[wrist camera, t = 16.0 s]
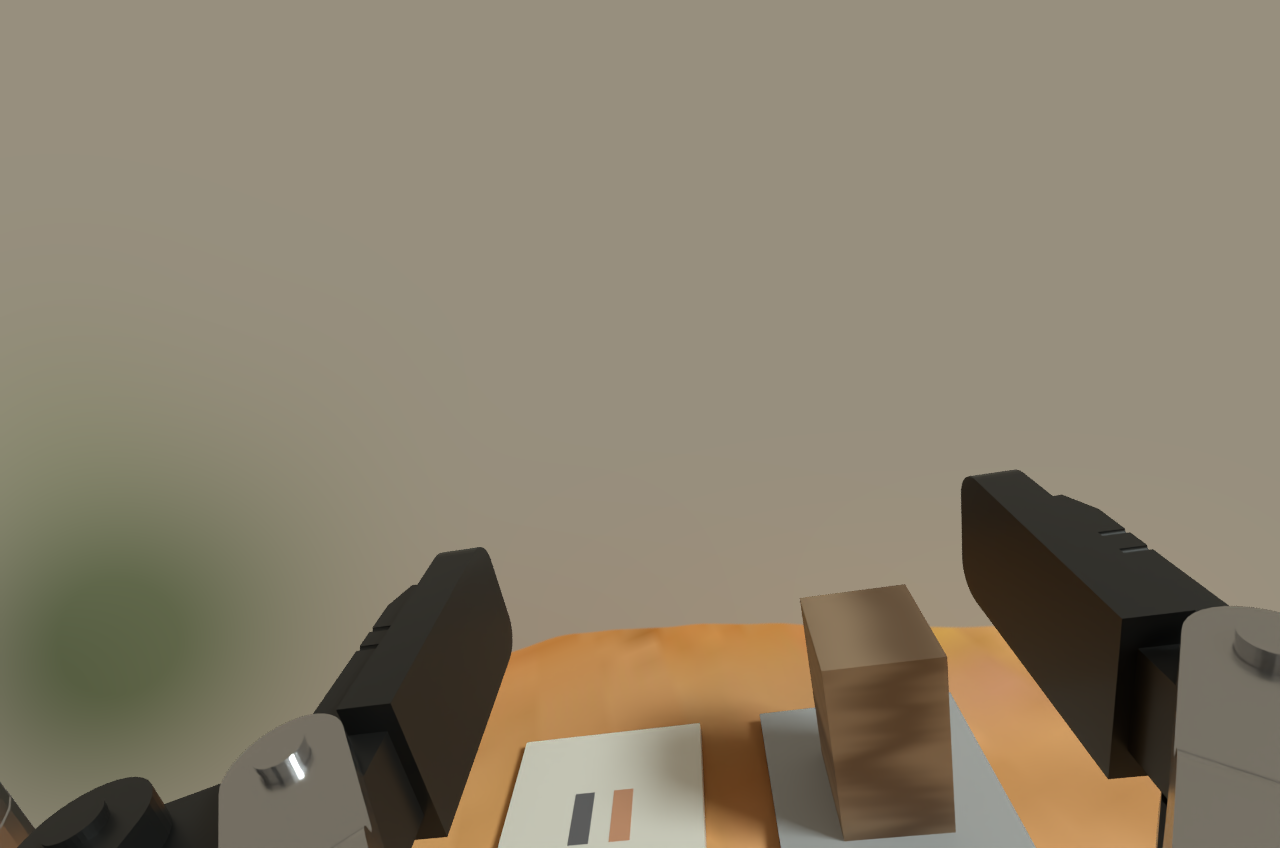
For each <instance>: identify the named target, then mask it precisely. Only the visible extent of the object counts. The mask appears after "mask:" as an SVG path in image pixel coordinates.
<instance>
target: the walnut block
mask: <svg viewBox="0 0 1280 848" xmlns="http://www.w3.org/2000/svg"><path fill="white" fill-rule="evenodd" d="M800 603H801V610H802V617H803V624H804V631H805V638H806V646H807V653H808V660H809V667H810V674H811V681H812V688H813V695H814V702H815V709H816V716H817V724H818V731H819V738H820V745H821V752H822V756H823V760H824V764H825V768H826V771H827V775H828V779H829V783H830V787H831V791H832V795H833V799H834V803H835V807H836V811H837V815H838V819H839V823H840V827H841V830H842V834H843V838H844V841H856V840H868V839H881V838H893V837H905V836H918V835H930V834H942V833H955V832H956V825H955V805H954V786H953V766H952V746H951V726H950V706H949V686H948V666H947V656H946V654H945V652H944V651H943V649H942V647H941V645H940V644H939V642H938V640H937V639H936V637H935V635H934V633H933V632H932V630H931V628H930V627H929V625H928V623H927V621H926V620H925V618H924V617H923V615H922V613H921V611H920V609H919V608H918V606H917V604H916V603H915V601H914V599H913V597H912V596H911V594H910V592H909V591H908V589H907V587H906V585H905V584H904V585H896V586H889V587H881V588H873V589H866V590H858V591H851V592H844V593H835V594H828V595H820V596H812V597H805V598H800Z"/></svg>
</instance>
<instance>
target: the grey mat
mask: <svg viewBox="0 0 1280 848" xmlns="http://www.w3.org/2000/svg"><path fill="white" fill-rule="evenodd" d="M949 706H950V726H951V746H952V766H953V786H954V805H955V825H956V832H955V833H942V834H930V835H918V836H905V837H893V838H881V839H868V840H856V841H844V838H843V834H842V830H841V827H840V823H839V819H838V815H837V811H836V807H835V803H834V799H833V795H832V791H831V787H830V783H829V779H828V775H827V771H826V768H825V764H824V760H823V756H822V752H821V745H820V738H819V731H818V724H817V716H816V709H815V708H808V709H799V710H790V711H782V712H773V713H764V714H760V720H761V726H762V732H763V738H764V745H765V751H766V757H767V763H768V770H769V776H770V782H771V789H772V795H773V801H774V807H775V814H776V820H777V826H778V832H779V839H780V845H781V848H1036V847H1035V845H1034V843H1033V842H1032V840H1031V838H1030V836H1029V834H1028V833H1027V831H1026V829H1025V827H1024V825H1023V824H1022V822H1021V820H1020V818H1019V816H1018V815H1017V813H1016V811H1015V809H1014V807H1013V805H1012V804H1011V802H1010V800H1009V798H1008V796H1007V795H1006V793H1005V791H1004V789H1003V787H1002V786H1001V784H1000V782H999V780H998V778H997V777H996V775H995V773H994V771H993V769H992V768H991V766H990V764H989V762H988V760H987V758H986V757H985V755H984V753H983V751H982V749H981V748H980V746H979V744H978V742H977V740H976V739H975V737H974V735H973V733H972V731H971V730H970V728H969V726H968V724H967V722H966V721H965V719H964V717H963V715H962V713H961V712H960V710H959V708H958V706H957V704H956V702H955V701H954V699H953V697H952V695H951V693H949Z"/></svg>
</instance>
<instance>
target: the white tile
mask: <svg viewBox="0 0 1280 848" xmlns="http://www.w3.org/2000/svg"><path fill="white" fill-rule="evenodd" d="M498 848H706V827H705V804H704V781H703V759H702V736H701V727H700V723H696V724H688V725H679V726H670V727H661V728H652V729H643V730H634V731H625V732H616V733H608V734H599V735H590V736H581V737H572V738H563V739H554V740H545V741H536V742H528V743H527V744H526V748H525V751H524V755H523V759H522V762H521V766H520V769H519V773H518V777H517V780H516V784H515V787H514V791H513V795H512V798H511V802H510V805H509V809H508V813H507V816H506V820H505V823H504V827H503V831H502V834H501V838H500V841H499V845H498Z"/></svg>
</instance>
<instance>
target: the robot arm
mask: <svg viewBox="0 0 1280 848" xmlns="http://www.w3.org/2000/svg"><path fill="white" fill-rule="evenodd" d="M961 510H962V511H961V513H962V560H963V569H964V574H965V578H966V581H967V584H968V587H969V589H970V591H971V594H972V595H973V597H974V599H975V600H976V602H977V603H978V605H979V606H980V607H981V609H982V610H983V611H984V613H985V614H986V615H987V617H988V618H989V619H990V621H991V622H992V624H993V625H994V626H995V628H996V629H997V630H998V632H999V633H1000V634H1001V636H1002V637H1003V638H1004V640H1005V641H1006V642H1007V644H1008V645H1009V646H1010V648H1011V649H1012V650H1013V652H1014V653H1015V654H1016V656H1017V657H1018V659H1019V660H1020V661H1021V663H1022V664H1023V665H1024V667H1025V668H1026V669H1027V671H1028V672H1029V673H1030V675H1031V676H1032V677H1033V679H1034V680H1035V681H1036V683H1037V684H1038V685H1039V687H1040V688H1041V689H1042V691H1043V692H1044V693H1045V695H1046V696H1047V698H1048V699H1049V700H1050V702H1051V703H1052V704H1053V706H1054V707H1055V708H1056V710H1057V711H1058V712H1059V714H1060V715H1061V716H1062V718H1063V719H1064V720H1065V722H1066V723H1067V724H1068V726H1069V727H1070V728H1071V730H1072V731H1073V732H1074V734H1075V735H1076V737H1077V738H1078V739H1079V741H1080V742H1081V743H1082V745H1083V746H1084V747H1085V749H1086V750H1087V751H1088V753H1089V754H1090V755H1091V757H1092V758H1093V759H1094V761H1095V762H1096V763H1097V765H1098V766H1099V767H1100V769H1101V770H1102V772H1103V773H1104V774H1105V776H1106V777H1107V778H1108V779H1115V778H1126V777H1137V776H1149V777H1150V778H1151V780H1152V781H1153V782H1154V783H1155V785H1156V786H1157V787H1158V788H1159V789H1160V791H1161V796H1160V803H1159V811H1158V824H1157V837H1156V848H1280V613H1279V612H1275V611H1271V610H1266V609H1260V608H1254V607H1243V606H1229V605H1227V604H1226V603H1225V602H1223V601H1222V600H1220V599H1219V598H1218V597H1216V596H1215V595H1214V594H1212V593H1211V592H1209V591H1208V590H1207V589H1206V588H1204V587H1203V586H1202V585H1200V584H1199V583H1198V582H1196V581H1195V580H1193V579H1192V578H1191V577H1189V576H1188V575H1187V574H1185V573H1184V572H1183V571H1181V570H1180V569H1178V568H1177V567H1176V566H1175V565H1173V564H1172V563H1170V562H1169V561H1168V560H1166V559H1165V558H1164V557H1162V556H1161V555H1160V554H1158V553H1157V552H1156V551H1154V550H1153V549H1152V550H1149V549H1148V548H1147V545H1146V544H1145V543H1143V542H1142V541H1141V540H1140V539H1138V538H1137V537H1135V536H1134V535H1133V534H1131V533H1126V532H1125V528H1123V527H1122V526H1120V525H1119V524H1118V523H1116V522H1115V521H1114V520H1113V519H1111V518H1110V517H1109V516H1107V515H1106V514H1105V513H1103V512H1102V511H1100V510H1099V509H1097V508H1095V507H1092V506H1089V505H1087V504H1084V503H1082V502H1079V501H1077V500H1074V499H1071V498H1069V497H1066V496H1064V495H1058V496H1052V495H1051V494H1049V493H1048V492H1047V491H1046V490H1044V489H1043V488H1042V487H1041V486H1039V485H1038V484H1037V483H1035V482H1034V481H1033V480H1032V479H1030V478H1029V477H1028V476H1027V475H1025V474H1024V473H1023V472H1021V471H1019V470H1010V471H1003V472H996V473H989V474H982V475H975V476H969V477H966V478H965V479H964V480H963V483H962V488H961ZM511 651H512V629H511V622H510V618H509V615H508V612H507V609H506V606H505V602H504V599H503V597H502V593H501V590H500V587H499V584H498V581H497V578H496V575H495V571H494V569H493V565H492V563H491V559H490V557H489V554H488V553H487V551H486V550H485V549H484V548H482V547H477V548H471V549H464V550H458V551H450V552H444V553H440V554H438V555H437V556H436V557H435V559H434V560H433V562H432V563H431V565H430V566H429V568H428V569H427V571H426V573H425V574H424V575H423V577H422V579H421V580H420V582H419V583H418V585H412V586H411V587H410V588H408V589H407V590H406V591H405V592H404V593H402V594H401V595H400V596H399V597H398V598H396V599H395V600H394V601H393V602H392V603H390V604H389V605H388V606H387V608H386V609H385V611H384V612H383V613H382V615H381V616H380V618H379V619H378V621H377V622H376V624H375V625H374V626H373V632H369V634H368V635H367V637H366V638H365V639H364V641H363V642H362V644H361V645H360V651H356V652H355V654H354V655H353V657H352V658H351V660H350V661H349V663H348V664H347V665H346V667H345V668H344V670H343V671H342V673H341V674H340V676H339V677H338V679H337V680H336V681H335V683H334V684H333V686H332V687H331V689H330V690H329V692H328V693H327V694H326V696H325V697H324V699H323V700H322V702H321V703H320V705H319V706H318V708H317V709H316V710H315V712H314V713H313V714H311V715H306V716H302V717H299V718H296V719H294V720H291V721H288V722H286V723H284V724H282V725H280V726H278V727H276V728H275V729H273V730H271V731H269V732H268V733H266V734H265V735H263V736H262V737H261V738H259V739H258V740H257V741H255V742H254V743H253V744H252V745H250V746H249V747H248V748H247V749H246V750H245V751H244V752H243V753H242V754H241V755H240V756H239V757H238V758H237V759H236V760H235V761H234V763H233V764H232V765H231V767H230V768H229V769H228V771H227V773H226V774H225V776H224V778H223V780H222V783H221V784H218V785H216V786H213V787H210V788H207V789H205V790H202V791H200V792H197V793H194V794H191V795H188V796H186V797H183V798H180V799H178V800H175V801H172V802H169V803H167V804H164V803H163V802H162V800H161V799H160V797H159V795H158V794H157V792H156V791H155V789H154V787H153V786H152V784H151V783H150V782H149V781H148V780H146V779H144V778H140V777H129V778H124V779H120V780H116V781H113V782H110V783H107V784H105V785H103V786H100V787H98V788H95V789H94V790H92V791H90V792H88V793H86V794H84V795H82V796H80V797H79V798H77V799H75V800H74V801H72V802H70V803H69V804H67V805H66V806H64V807H63V808H61V809H60V810H58V811H57V812H56V813H55V814H53V815H52V816H51V817H49V818H48V819H47V820H46V821H44V822H43V823H42V824H41V825H40V826H39V827H37V828H36V829H35V828H34V827H33V825H32V824H31V823H30V821H29V820H28V819H27V817H26V816H25V814H24V813H23V812H22V811H21V809H20V808H19V806H18V805H17V804H16V802H15V801H14V799H13V798H12V797H11V795H10V794H9V793H8V791H7V790H6V789H5V788H4V786H3V785H2V784H1V783H0V848H412V845H413V843H414V840H418V839H429V838H440V837H447V836H448V833H449V830H450V828H451V825H452V822H453V819H454V816H455V813H456V810H457V808H458V805H459V802H460V799H461V796H462V793H463V790H464V788H465V785H466V782H467V779H468V776H469V773H470V770H471V768H472V765H473V762H474V759H475V756H476V753H477V750H478V748H479V745H480V742H481V739H482V736H483V733H484V731H485V728H486V725H487V722H488V719H489V716H490V713H491V711H492V708H493V705H494V702H495V699H496V696H497V693H498V691H499V688H500V685H501V682H502V679H503V676H504V673H505V671H506V668H507V665H508V662H509V659H510V656H511Z"/></svg>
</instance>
